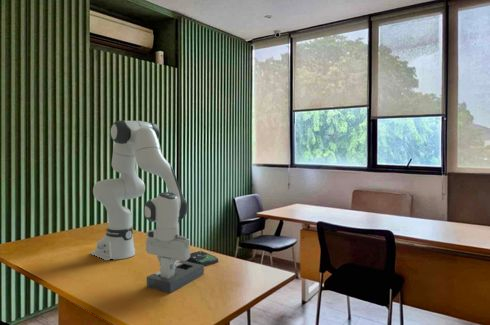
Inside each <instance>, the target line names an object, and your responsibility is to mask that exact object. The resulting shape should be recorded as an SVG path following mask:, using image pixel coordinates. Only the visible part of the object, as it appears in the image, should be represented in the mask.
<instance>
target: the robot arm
mask: <svg viewBox="0 0 490 325" xmlns="http://www.w3.org/2000/svg"><path fill="white" fill-rule="evenodd" d="M160 135H161V133H160V128H159V126H158V124H156V123H154V122H151V121H142V120H115V121H114V122H113V123H112V125H111V127H110V137H111V139H112V141H113V142H114V144H113V149H112V150H113V151H112V158H111V167H112V169H113V170H114V171H115V172H117V173H119V174H120V177H119V178H106V179H103V180H99V181H96V183H95V184H94V185H93V188H92V194H93V197H94V198H95V199H96V200H97V201H98V202H100V203H101V204H102V205H103V206H104V208H105V210H106V212H107V222H108V223H107V224H108V227H107V228H106V229H104V231H105V232H106V233H105V235H104V236H103V237H102V238H100V239H99V240H98V241H97V243H96V249H95V250H93V251H91V253H90V254H91V256H94V255H95V257H96V256H97V258H99V257H100V258H99V259H101V258H102V260H103V259H104V260H103V261H110V259H113V260H125V259H129V258H131V257H133V256H135V255H136V248H135V243H134V236H133V233H134V229H133V228H134V227H133V219H132V218H133V214H132V211H131V209H129V208H128V207H126V206H124V205H123V203H122V201H123V200H124V201H125V200H134V199H136V198H139V197H142V196H144V193H145V190H146V184H145V183H144V180H143V179H141V178H140V177H139V175H138V174H137V170H136V166H138V167H139V169H141V170H143V171H144V172H146V173H149V174H152V175H155V176H156V177H157V176H158V177H159V178H161V179H162V180H164V183H165V186H166V188H167V191H168V192H167V191H163V192H160V193H158V194H157V197H155V198H151V199H148V200H147V201H146V202H145V203H144V206H143V216H144V218H145V219H146V220H147V221H148V222H150V223H156V226H155V227H156V228H155V229H150V230H148V231H147V232H146V240H145V251H146V253H147V254H149V255H154V256H156V258H157V260H158V262H159V267H161V257H167V258H171V259H172V261H173V263H172V264H171V265H170V269H173V270H174V269H176V264H177V263H178V262H180V261H186V262H187V260H188V259H189V258H190V254H191V248H190V239H188V238H187V237H186V236H183V235H180V223H179V221H181V220H183V219H184V218H185V216H186V215H187V214H188V210H189V206H188V202H187V201H186V199H185V197H184V195H183V192H182V189H181V187H180V184H179V181H178V179H177V176H176V174H175V170H174V168H173V166H172V164H171V163H170V162H169V161H167V160H166V158H165V157H164V154H163V153H162V148H161V144H160V141H159V140H160V139H159V138H160Z"/></svg>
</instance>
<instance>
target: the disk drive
mask: <svg viewBox="0 0 490 325" xmlns="http://www.w3.org/2000/svg"><path fill="white" fill-rule="evenodd" d="M186 262H191V263H196V264H200V265H204V267H206V266H210V265H213V264H218V263H219V258H218V257H217V256H214V255H212V254H210V253H207V252H205V251H202V250H198V251H194V252H190V258H189V259H188V260H186Z"/></svg>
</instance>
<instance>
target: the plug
mask: <svg viewBox="0 0 490 325" xmlns="http://www.w3.org/2000/svg"><path fill="white" fill-rule="evenodd" d="M172 263H173V261H172V259H171V258H167V257H161V266H160V270H161V277H163V278H167V279H169V278H171V277H173V276H175V269H174V270H173V269H170V265H171V264H172Z"/></svg>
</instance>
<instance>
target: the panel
mask: <svg viewBox="0 0 490 325" xmlns="http://www.w3.org/2000/svg"><path fill="white" fill-rule="evenodd" d="M204 269H205V266H204V265H200V264H196V263H192V262H190V261H187V260H186V261H180V260H179V261H178V262H177V264H176V269H175V276H173V277H171V278H169V279H167V278H163V277H161V269H160V270H158V271H156V272H154V273H152V274H150V275H148V276H146V287H147V288H150V289H154V290H157V291H161V292H165V293H168V294H171V293H173V292H175V291H177V290H178V289H180V288H182V287H184V286H186V285H188V284H189V283H191V282H193V281H195V280H197V279H199V277H201V276H203V275H204V274H205V270H204Z"/></svg>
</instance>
